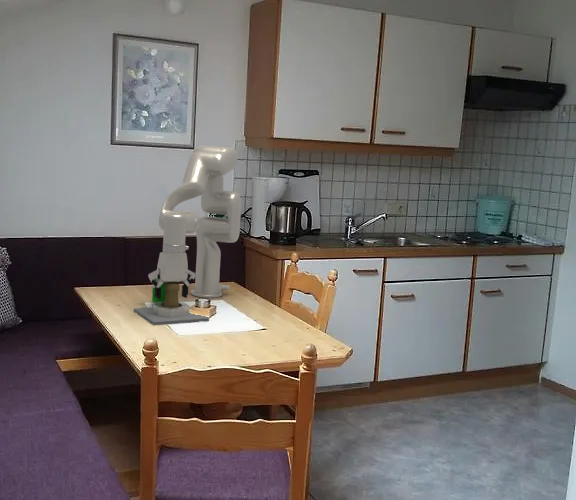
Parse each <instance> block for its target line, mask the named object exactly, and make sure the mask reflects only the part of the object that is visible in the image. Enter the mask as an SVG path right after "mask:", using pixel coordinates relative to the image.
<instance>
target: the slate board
mask: <svg viewBox="0 0 576 500" xmlns="http://www.w3.org/2000/svg"><path fill="white" fill-rule="evenodd" d="M189 308H191V307H190V306H189ZM133 312H134V313H136V314H137V315H138V316H140V317H141V318H143V319H144V320H146V321H147V322H149V323H150V324H152V326H160V325H174V324H188V323H200V322H199V321H204V322H209V321H210V317H207V316H206V315H204V316H201V315H195V314H191V313H189V314H188V315H186V316H184V317H173V318H170V317H162V316H157V315H156V314H154V313H153V306H151V307H135V308H134V307H133Z"/></svg>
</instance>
